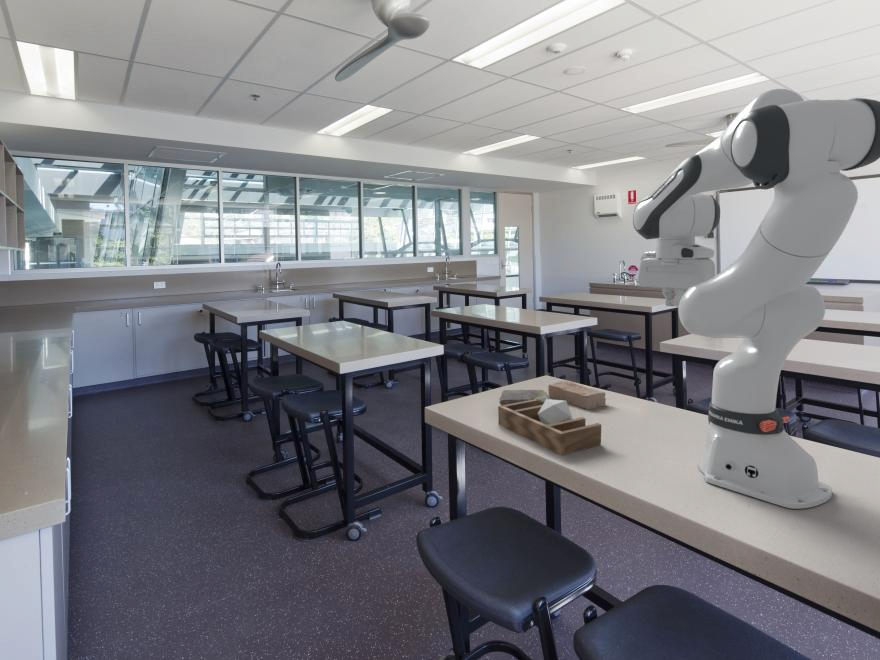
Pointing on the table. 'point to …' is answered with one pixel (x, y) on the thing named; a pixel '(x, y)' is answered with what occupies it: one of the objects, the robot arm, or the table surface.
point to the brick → (577, 394)
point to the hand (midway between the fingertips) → (672, 306)
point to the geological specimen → (522, 396)
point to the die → (554, 412)
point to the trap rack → (548, 428)
